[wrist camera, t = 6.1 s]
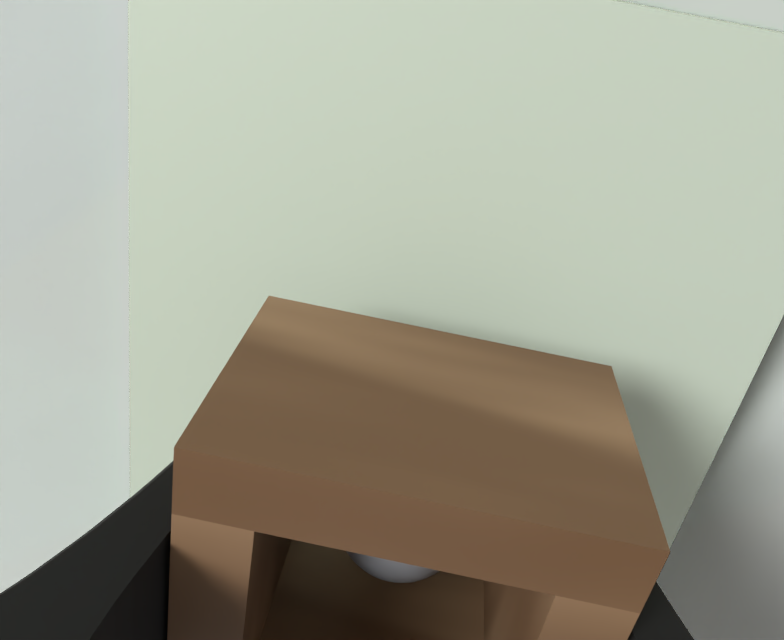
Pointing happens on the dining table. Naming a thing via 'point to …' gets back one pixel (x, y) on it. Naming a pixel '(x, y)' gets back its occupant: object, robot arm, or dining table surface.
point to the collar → (407, 490)
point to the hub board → (460, 197)
